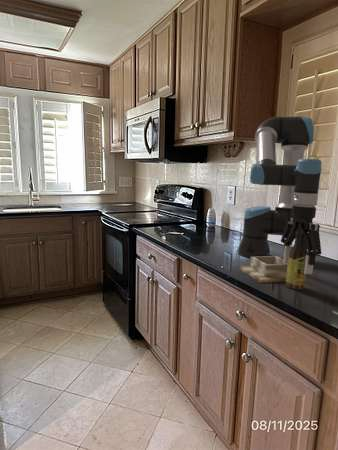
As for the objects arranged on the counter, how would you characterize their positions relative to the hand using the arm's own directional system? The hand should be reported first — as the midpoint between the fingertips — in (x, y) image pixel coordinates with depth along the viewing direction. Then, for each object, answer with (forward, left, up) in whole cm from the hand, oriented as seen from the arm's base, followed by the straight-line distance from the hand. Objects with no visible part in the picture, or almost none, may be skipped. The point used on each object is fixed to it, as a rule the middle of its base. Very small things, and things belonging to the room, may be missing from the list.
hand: (297, 268), depth 110 cm
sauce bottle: (0, 0, -7) cm, 7 cm away
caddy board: (-14, -1, -7) cm, 16 cm away
